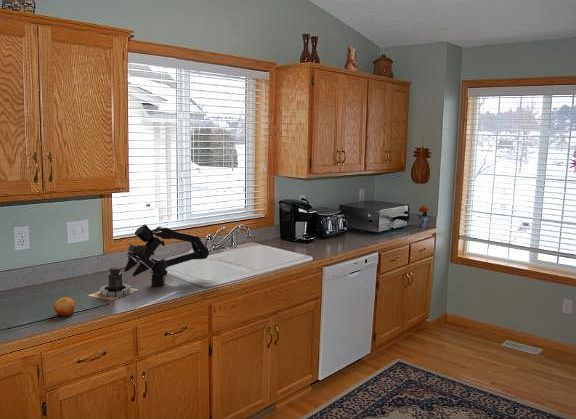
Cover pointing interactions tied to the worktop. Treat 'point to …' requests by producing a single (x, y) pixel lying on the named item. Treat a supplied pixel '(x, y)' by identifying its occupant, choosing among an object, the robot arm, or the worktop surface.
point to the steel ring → (120, 293)
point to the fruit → (64, 306)
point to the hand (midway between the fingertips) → (128, 273)
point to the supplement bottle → (115, 279)
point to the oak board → (108, 297)
